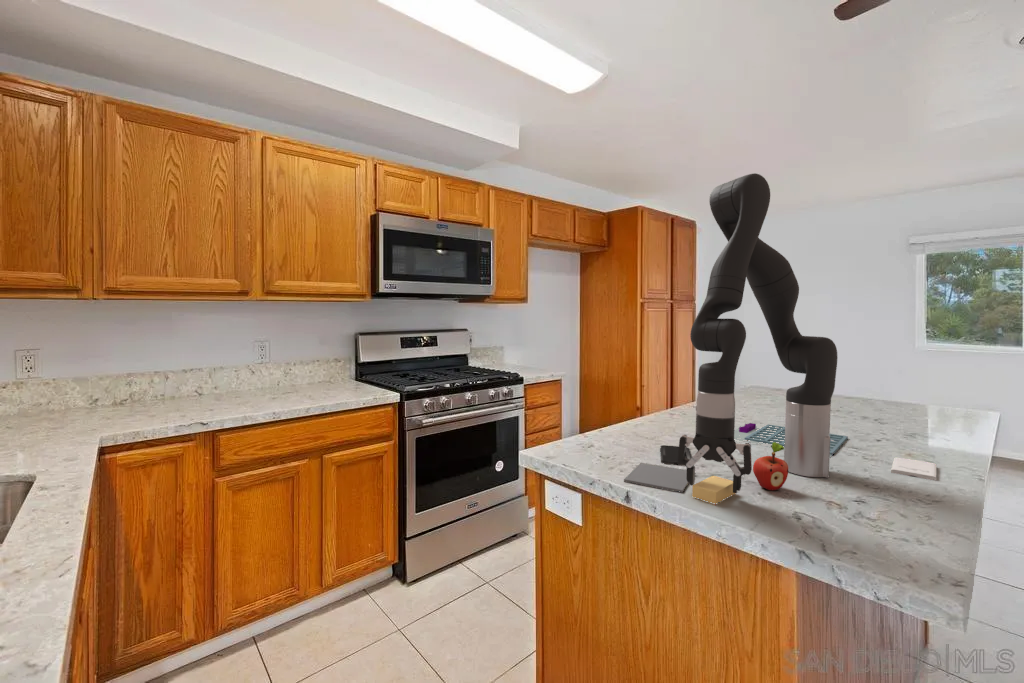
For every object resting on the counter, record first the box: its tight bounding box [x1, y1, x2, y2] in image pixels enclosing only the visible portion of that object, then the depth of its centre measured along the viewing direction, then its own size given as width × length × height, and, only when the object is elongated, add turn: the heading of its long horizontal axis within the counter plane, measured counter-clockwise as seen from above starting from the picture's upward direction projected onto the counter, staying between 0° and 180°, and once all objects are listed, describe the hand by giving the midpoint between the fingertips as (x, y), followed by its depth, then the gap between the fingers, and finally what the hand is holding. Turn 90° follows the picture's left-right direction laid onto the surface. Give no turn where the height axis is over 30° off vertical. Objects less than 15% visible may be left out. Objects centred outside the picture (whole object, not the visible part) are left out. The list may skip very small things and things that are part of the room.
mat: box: [623, 462, 689, 493], centre depth 109 cm, size 13×14×1 cm
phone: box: [659, 444, 692, 466], centre depth 126 cm, size 8×1×15 cm
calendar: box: [734, 422, 849, 459], centre depth 144 cm, size 27×29×2 cm
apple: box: [752, 442, 789, 491], centre depth 103 cm, size 8×7×10 cm
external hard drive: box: [890, 456, 937, 482], centre depth 115 cm, size 2×8×12 cm
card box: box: [691, 475, 736, 504], centre depth 99 cm, size 5×9×3 cm, turn 131°
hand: (712, 487), depth 99 cm, fingers open, 8 cm apart
